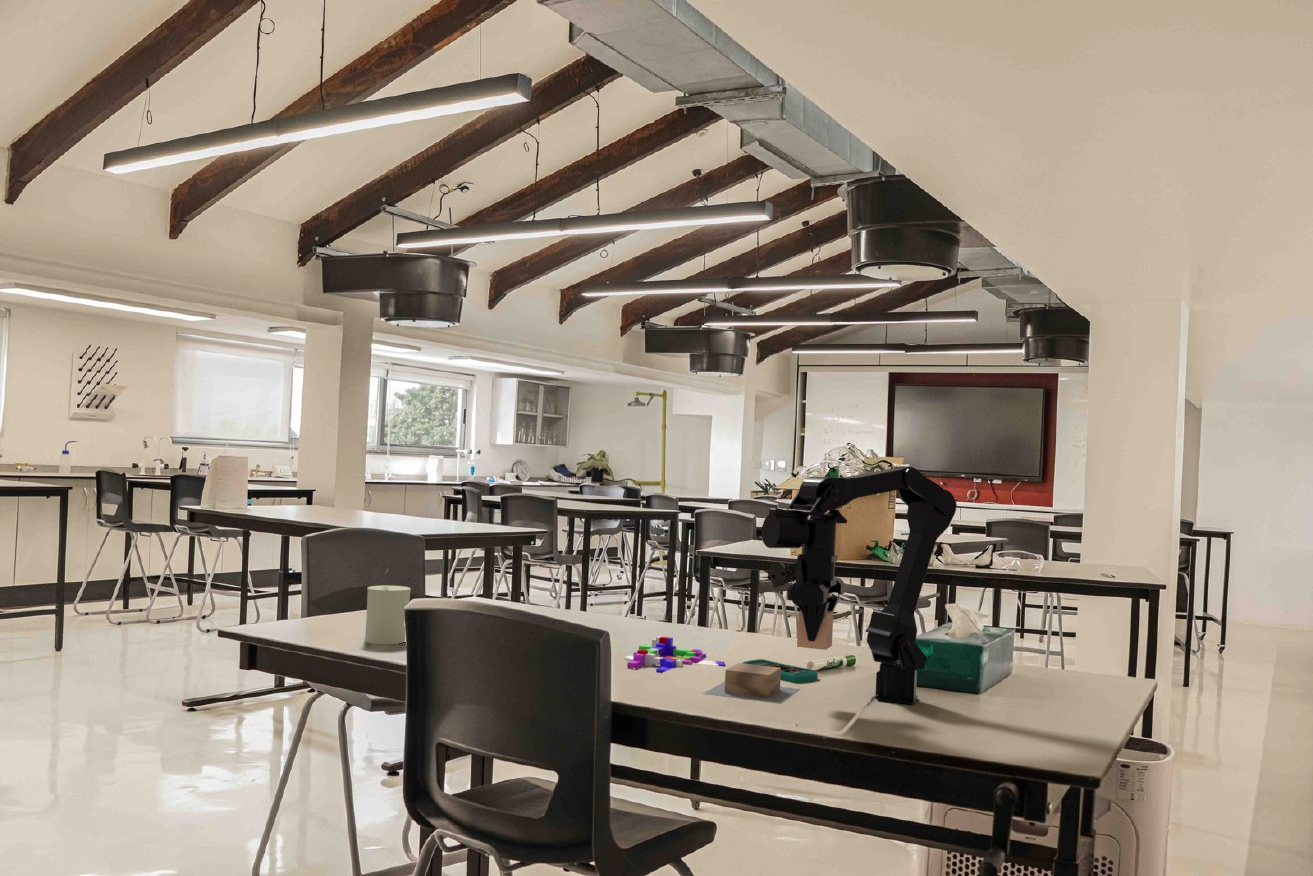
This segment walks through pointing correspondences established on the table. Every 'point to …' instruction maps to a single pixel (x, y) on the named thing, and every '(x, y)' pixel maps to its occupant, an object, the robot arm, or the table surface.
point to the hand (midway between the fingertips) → (814, 639)
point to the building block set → (666, 656)
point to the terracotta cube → (823, 635)
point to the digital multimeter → (788, 671)
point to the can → (386, 614)
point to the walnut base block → (752, 680)
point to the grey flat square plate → (775, 698)
